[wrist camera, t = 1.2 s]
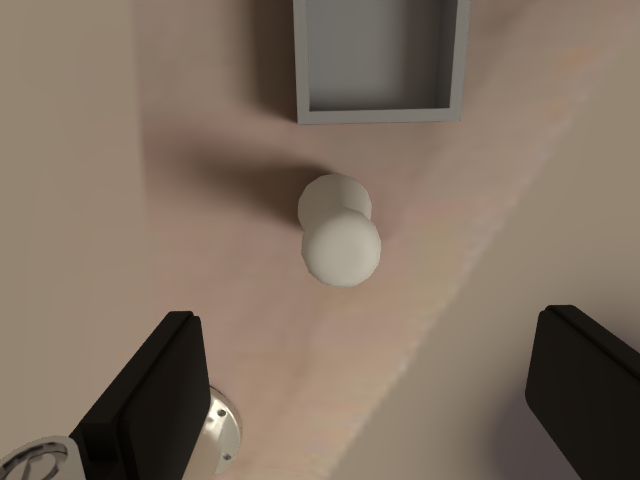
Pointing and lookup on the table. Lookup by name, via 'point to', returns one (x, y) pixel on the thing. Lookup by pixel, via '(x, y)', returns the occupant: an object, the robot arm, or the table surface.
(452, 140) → the table surface
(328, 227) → the salt shaker
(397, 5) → the tray
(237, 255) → the table surface
